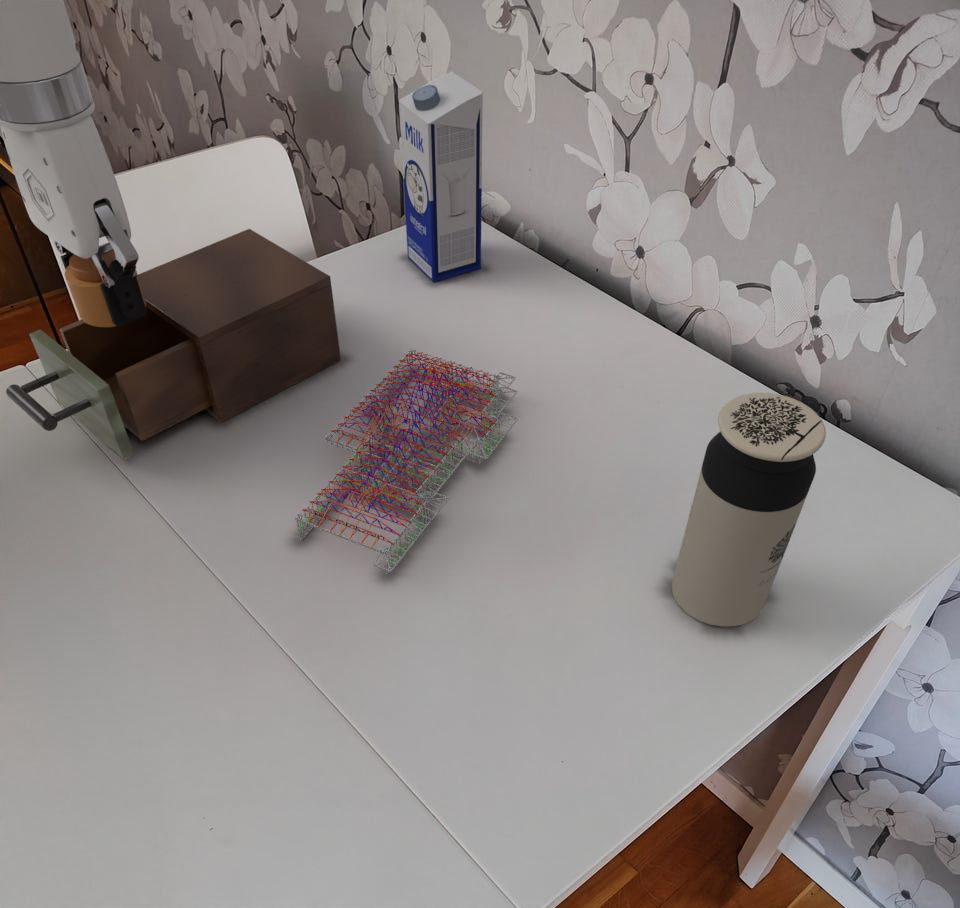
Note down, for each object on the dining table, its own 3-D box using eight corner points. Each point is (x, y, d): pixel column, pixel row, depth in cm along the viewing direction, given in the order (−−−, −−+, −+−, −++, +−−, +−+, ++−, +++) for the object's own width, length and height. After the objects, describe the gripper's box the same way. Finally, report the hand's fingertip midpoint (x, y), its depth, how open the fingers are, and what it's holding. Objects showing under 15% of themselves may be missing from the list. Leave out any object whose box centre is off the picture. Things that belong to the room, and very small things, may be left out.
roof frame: (399, 592, 77) (395, 550, 73) (254, 535, 81) (243, 492, 77) (543, 403, 94) (546, 360, 90) (417, 364, 98) (414, 321, 94)
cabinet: (220, 423, 92) (198, 337, 84) (146, 366, 98) (119, 281, 90) (341, 360, 99) (330, 276, 91) (265, 311, 105) (249, 228, 97)
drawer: (77, 483, 84) (46, 414, 78) (12, 423, 90) (-21, 354, 84) (248, 395, 93) (233, 327, 87) (180, 345, 98) (161, 278, 92)
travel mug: (651, 589, 78) (692, 417, 64) (712, 547, 81) (763, 376, 67) (722, 644, 74) (782, 475, 60) (783, 598, 77) (853, 428, 63)
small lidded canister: (65, 313, 83) (45, 262, 79) (116, 285, 86) (99, 234, 82) (109, 335, 81) (91, 283, 77) (159, 305, 84) (144, 254, 80)
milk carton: (481, 269, 111) (483, 90, 96) (433, 283, 109) (427, 102, 93) (453, 244, 115) (451, 68, 99) (407, 257, 113) (397, 79, 97)
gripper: (-59, 73, 71) (28, 285, 85) (49, 140, 64) (125, 361, 78) (29, 50, 75) (99, 257, 89) (141, 110, 67) (198, 327, 81)
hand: (110, 304), depth 83 cm, fingers closed on small lidded canister, 6 cm apart
